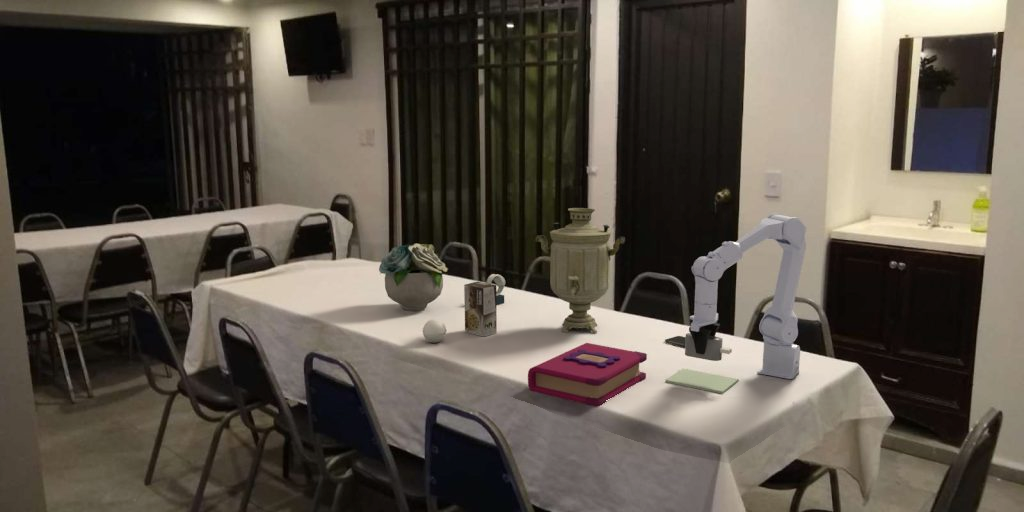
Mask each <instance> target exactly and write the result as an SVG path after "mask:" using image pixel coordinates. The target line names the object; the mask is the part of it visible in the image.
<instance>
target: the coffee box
mask: <svg viewBox="0 0 1024 512" xmlns="http://www.w3.org/2000/svg"><path fill="white" fill-rule="evenodd" d="M463 287H464V289H463V291H464V292H463V293H464V296H463V297H464V332H465V333H468V334H472V335H477V336H480V337H487V336H491V335H495V334H497V331H498V330H497V310H498V309H497V305H496V292H497V287H498V286H497V284H492V283H491V284H488V283H486V282H481V281H474V282H470V283H466V284H464V285H463Z"/></svg>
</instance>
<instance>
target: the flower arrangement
mask: <svg viewBox="0 0 1024 512" xmlns="http://www.w3.org/2000/svg"><path fill="white" fill-rule="evenodd" d="M435 249H436V248H435V247H434V245H433V244H428V243H425V244H422V243H421V244H420V243H415V242H413V243H410V244H405V245H399V246H397V247H396V246H394V247H393V248H391V250H390V252H389V253H388V254H387V255H386V256H384V257H383V258H382V259H381V261H380V264H379V267H378V271H379V273H380V274H379V275H381V274H383V275H384V287H385V292H386V295H387V297H388V298H389V299H390V300H392V302H395V303H397V304H399V305H400V306H401V308H402V310H404V311H410V312H417V311H418V312H419V311H423V310H425V309H427V307H428V304H431V303H432V302H434V301H435V300H436V299H438V297H439V296H441V294H442V292H443V291H442V290H443V288H444V276H443V272H445V273H446V272H448V270H449V268H448V267H447V266H446V264H445V262H443V261H441V260H440V258H439V256H440V255H439V253H438V252H437V253H435V252H436V250H435Z"/></svg>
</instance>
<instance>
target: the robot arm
mask: <svg viewBox="0 0 1024 512" xmlns="http://www.w3.org/2000/svg"><path fill="white" fill-rule="evenodd" d="M806 231H807V226H806V225H805V224H804V222H803V221H802V220H801V219H800V218H798V217H791V216H787V215H781V214H778V213H771V214H769V215H768V216H766V217H764V218H763V219H761V221H760V223H759V224H758V225H756V226H755V227H754V228H752V229H751V230H750V231H748V232H747V233H745V234H744V235H743V236H741V237H740V238H739V239H737V240H736V241H731V240H729V241H723V242H722V243H721V246H720V247H717V248H716V249H715V250H713V251H709V252H708V254H707V255H706V256H705V255H704V256H699V257H698V258H697V259H695V260H694V262H693V265H692V266H691V273H692V274H693V275H694V282H695V286H694V287H695V288H694V289H695V290H694V311H693V313H694V314H693V315H690V316H689V320H692V322H691V323H690V327H689V328H688V333H691V335H692V338H693V341H694V345H695V350H696V353H697V354H704V353H705V350H706V344H707V340H708V337H709V336H715V337H716V334H717V332H718V330H719V329H720V328H721V324H720V323H718V321H719V313H718V312H717V306H718V305H717V304H718V288H719V287H718V285H719V284H718V283H719V280H720V279H721V278H722V277H723V274H724V272H725V271H726V270H727V269H728V268H730V267H731V266H733V265H735V264H736V263H738V262H739V261H740V260H742V259H743V255H744V253H745V252H747V251H748V250H750V249H752V248H755V246H757V245H759V244H761V243H762V242H764V241H766V240H771V239H772V240H774V241H776V242H777V244H778V245H779V246H780V248H781V249H782V256H781V261H780V267H779V270H778V275H777V280H776V284H775V285H776V286H775V290H774V294H773V299H772V303H771V304H772V305H771V306H769V307H768V308H766V309H765V310H764V314H763V316H762V318H761V320H760V321H759V322H760V323H759V325H758V326H759V327H758V329H759V332H760V334H761V335H762V339H763V353H762V354H763V355H762V367H761V368H760V369H758V370H757V372H756V373H757V374H759V375H765V376H766V375H767V376H769V377H770V376H771V377H776V378H781V379H785V380H786V379H787V380H792V379H794V378H795V377H796V376H797V375H798V374H799V373H800V361H801V359H800V358H801V347H800V345H797V344H795V343H794V342H795V341H796V339H797V338H798V335H799V329H798V321H799V318H798V317H797V315H796V313H795V312H794V305H795V300H796V295H797V289H798V285H799V281H800V276H801V271H802V269H803V267H802V266H803V264H804V263H803V262H804V258H805V257H804V256H805V253H806V246H807V245H806V238H805V236H806Z"/></svg>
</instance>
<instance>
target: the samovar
mask: <svg viewBox="0 0 1024 512" xmlns="http://www.w3.org/2000/svg"><path fill="white" fill-rule="evenodd" d="M567 210H568V211H569V217H570V220H571V221H572V222H571V223H569V224H567V225H565V227H562V228H559V224H560V223H559V222H554V223H552V226H554V230H551V231H549V233H550V238H551V240H552V242H551V245H550V247H549V242H548V239H547V237H546V236H545V235H541V234H540V235H538V234H537V235H536V236H535V238H534V241H535V242H536V243H537V242H540V248H541V250H542V251H543V253H544V254H547V255H549V258H550V259H549V261H550V263H549V264H550V266H549V267H550V268H549V269H550V270H549V273H550V274H549V275H550V277H549V278H550V281H549V283H550V289H551V291H552V292H553V294H554V295H556V296H557V297H558V298H559V299H561V300H562V301H564V302H565V303H569V304H568V307H569V310H571V311H572V313H571V314H570V313H569V314H568V315H567V317H565V318H564V320H563V322H562V325H564V328H563V329H562V330H561V333H563V334H565V333H568V331H570V330H571V329H573V328H575V329H579V328H580V329H585V328H586V329H588V330H589V331H590V332H591V334H594V335H595V334H597V333H598V331H597V329H595V326H598V324H597V322H596V319H595V318H594V317H593V316H592V315H591V314H589V313H588V311H590V310H591V303H594V302H596V301H598V300H599V299H601V298H602V297H603V296H604V295H605V296H606V293H607V292H608V290H609V287H610V264H611V263H610V262H611V257H612V256H615V254H616V253H617V252H618V251H619V249H620V245H623V244H625V243H626V237H625V236H618V237H617V238H616V240H615V241H614V244H613V245H612V248H611V246H610V244H609V241H610V238H611V234H612V232H611V231H609V228H610V225H608V224H603V225H602V226H603V229H601V228H598V227H597V226H596V225H594V224H592V223H590V221H591V220H592V214H593V213H594V212H595V211H596V209H593V208H588V207H587V208H586V207H585V208H584V207H572V208H571V207H570V208H568V209H567Z"/></svg>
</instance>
